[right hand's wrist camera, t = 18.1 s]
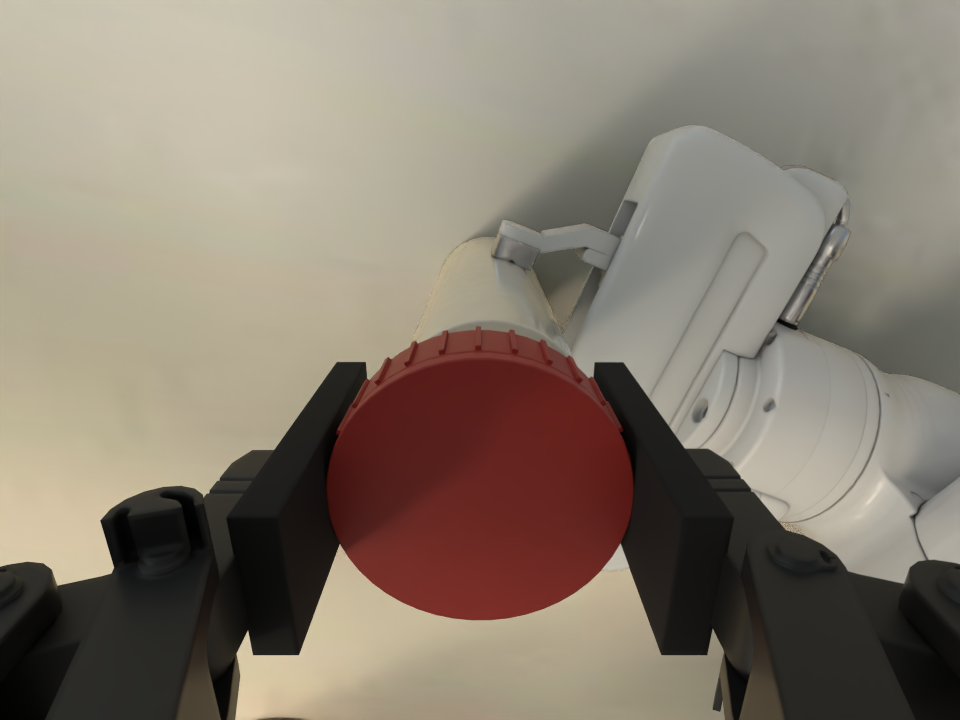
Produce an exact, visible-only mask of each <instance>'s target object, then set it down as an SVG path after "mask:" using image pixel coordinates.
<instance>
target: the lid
mask: <svg viewBox="0 0 960 720" xmlns="http://www.w3.org/2000/svg"><path fill="white" fill-rule="evenodd" d="M620 432H623V429H622V427H621V425H620V423H619V421H618V419H617V417H616V415H615V413H614V412H613V410H612V408H611V406H610V404H609V402H608V401H606V400H605V399H604V397H603V395H602V393H601V391H600V389H599V387H598V385H597V383H596V381H595V379H594V378H593V377H592V376H591V377H590V378H588V377H587V376H586V375H585V374H584V373H583V372H582V371H581V370H580V369H579V368H578V367H577V365H576V363H575V361H574V359H573V357H571V356H570V355H569V356H568V357H567V358H566V357H565V356H564V355H562V354H561V353H559V352H558V351H556V350H554V349H552V348H550V347H549V346H547V343H546V341H545V340H543V339H541V340H540V342H538V341H535V340H533V339H530V338H528V337H524V336H521V335H517V334H515V331H514V330H511V329H510V330H509V332H501V331H493V330H481V326H476V330H467V331H459V332H452V333H448V330H445V331H442V335H440V336H436V337H432V338H430V339H427V340H425V341H422V342H420V343H417V341H416V340H415V341H413V342H412V343H411V345H410V348H408V349H406V350H405V351H403V352H401V353H399V354H398V355H397V356H395V357H394V358H393V359H390V358H389V357H388V358H386V359H385V361H384V363H383V365H382V367H381V369H380V370H379V371H378V372H377V373H376V374H375V375H374V376H373V377H372V379H371V380H368V379H366V380H365V381H364V383H363V385H362V387H361V389H360V390H359V392H358V394H357V396H356V398H355V400H354V402H353V404H351V405H350V407H349V409H348V411H347V413H346V415H345V416H344V418H343V420H342V422H341V424H340V426H339V428H338V430H337V432H336V434H337V435H339V437H338V439H337V441H336V443H335V446H334V448H333V451H332V454H331V457H330V460H329V466H328V471H327V476H326V491H327V500H328V509H329V516H330V519H331V523H332V527H333V529H334V531H335V534H336V536H337V538H338V541H339V543H340V544H341V546H342V548H343V549H344V551H345V553H346V554H347V556H348V557H349V559H350V560H351V561H352V562H353V563H354V565H355V566H356V567H357V568H358V570H359V571H360V572H361V573H362V574H363V575H364V576H366V577H367V578H368V579H369V580H370V581H371V582H372V583H373V584H375V585H376V586H377V587H379V588H380V589H381V590H383V591H384V592H385V593H387V594H389V595H390V596H392V597H394V598H396V599H397V600H399V601H401V602H403V603H405V604H407V605H410V606H412V607H414V608H416V609H419V610H422V611H425V612H429V613H432V614H435V615H439V616H444V617H449V618H455V619H465V620H495V619H505V618H511V617H516V616H521V615H526V614H529V613H532V612H535V611H538V610H541V609H544V608H546V607H549V606H551V605H553V604H555V603H558V602H560V601H562V600H563V599H565V598H567V597H568V596H570V595H572V594H574V593H575V592H577V591H578V590H579V589H581V588H582V587H583V586H585V585H586V584H587V583H589V582H590V581H591V580H592V579H593V578H594V577H595V576H596V575H597V574H598V573H599V572H600V571H601V570H602V569H603V568H604V566H605V565H606V564H607V563H608V562H609V560H610V559H611V558H612V557H613V555H614V553H615V552H616V550H617V548H618V547H619V545H620V543H621V542H622V539H623V537H624V535H625V532H626V530H627V528H628V525H629V521H630V517H631V512H632V504H633V495H634V474H633V469H632V464H631V459H630V454H629V452H628V450H627V448H626V445H625V442H624V440H623V438H622V436H621V434H620Z"/></svg>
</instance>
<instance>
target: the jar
mask: <svg viewBox="0 0 960 720" xmlns="http://www.w3.org/2000/svg"><path fill="white" fill-rule="evenodd" d="M495 239H496V237H479V238H475V239H472V240H469V241H467V242H465V243H463V244H461V245H460V246H458V247H457V248H456V249H455V250H454V251H453V252H452V253H451V254H450V255H449V257H448V258H447V260H446V261H445V263H444V265H443V268H442V270H441V272H440V275H439V277H438V280H437V282H436V284H435V287H434V289H433V292H432V294H431V296H430V299H429V301H428V304H427V306H426V308H425V311H424V313H423V315H422V318H421V320H420V323H419V325H418V327H417V330H416V332H415V335H414V337H413V339H412V342H413V341H415V340H416V341H417V343H420V342H422V341H425V340H427V339H430V338H432V337H436V336H440V335H442V331H445V330H448V333H452V332H459V331H467V330H476V326H481V330H493V331H501V332H509V330H510V329H511V330H514V331H515V334H517V335H521V336H524V337H528V338H530V339H533V340H535V341H538V342H540V340H541V339H543V340H545V341H546V343H547V346H549V347H550V348H552V349H554V350H556V351H558V352H559V353H561V354H562V355H564V356H565V357H566V358H567V357H568V356H569V355H570V356H571V357H573V355H572V353H571V351H570V349H569V347H568V344H567V342H566V340H565V338H564V336H563V333H562V331H561V329H560V327H559V325H558V322H557V320H556V318H555V316H554V314H553V311H552V309H551V307H550V305H549V303H548V300H547V298H546V296H545V294H544V292H543V289H542V287H541V285H540V283H539V281H538V278H537V276H536V274H535V272H534V270H533V267H532V269H531V271H529V270H526V269H524V268H521V267H519V266H517V265H516V264H515V263H514V262H513V260H511V261H505V260H501V259H498V258H496V257H494V256H493V255H491V250H492V247H493V245H494V242H495ZM412 342H411V343H412ZM410 345H411V344H410ZM409 348H410V347H409ZM573 359H574V358H573ZM574 361H575V360H574ZM575 363H576V362H575ZM576 365H577V364H576ZM577 367H578V366H577Z"/></svg>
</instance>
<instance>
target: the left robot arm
mask: <svg viewBox="0 0 960 720" xmlns="http://www.w3.org/2000/svg"><path fill="white" fill-rule="evenodd" d="M849 213H850V203H849V199H848V193H847V191H846V189H845V188H844V187H843V186H842V185H841V184H840V183H838V182H837V181H836V180H835V179H833V178H830V177H828V176H826V175H823V174H821V173H819V172H817V171H814V170H812V169H810V168H808V167H805V166H800V165H788V166H783V167H780V168H779V167H778V166H777V165H775V164H774V163H772V162H770V161H769V160H767V159H766V158H764V157H763V156H761V155H760V154H758V153H756V152H755V151H753V150H751V149H750V148H748V147H746V146H744V145H743V144H741V143H739V142H737V141H735V140H734V139H732V138H730V137H728V136H726V135H724V134H722V133H720V132H718V131H716V130H713V129H711V128H708V127H705V126H699V125H689V126H683V127H679V128H676V129H673V130H671V131H668V132H666V133H663V134H661V135H659V136H657V137H655V138H653V139H652V140H651V141H650V142H649V144H648V146H647V148H646V150H645V152H644V154H643V156H642V159H641V161H640V163H639V165H638V167H637V170H636V172H635V174H634V176H633V178H632V181H631V183H630V185H629V187H628V189H627V192H626V194H625V196H624V198H623V200H622V203H621V205H620V207H619V209H618V211H617V214H616V216H615V218H614V220H613V222H612V225H611V227H610V229H609V231H608V232H606V231H604V230H601V229H599V228H596V227H594V226H591V225H589V224H586V223H584V224H578V225H572V226H566V227H560V228H554V229H548V230H542V231H541V233H539V232H536V231H534V230H531V229H529V228H526V227H524V226H521V225H519V224H516V223H514V222H511V221H507V220H504V219H503V221H502V223H501V226H500V229H499V231H498V234H497V236H496V239H495V242H494V245H493V247H492V250H491V255H493V256H494V257H496V258H498V259H501V260H505V261H511V260H513V262H514V263H515V264H516V265H517V266H519V267H521V268H524V269H526V270H529V271H531V269H532V267H533V264H534V262H535V260H536V258H537V255H538V253H540V254H541V253H547V252H554V251H561V250H568V249H575V250H574V251H575V254H576V255H577V256H578V257H579V258H580V259H581V260H582V261H583V262H586V263H588V264H591V265H593V266H592V268H591V271H590V273H589V275H588V277H587V279H586V282H585V284H584V286H583V288H582V290H581V293H580V295H579V297H578V299H577V301H576V304H575V306H574V308H573V310H572V312H571V315H570V317H569V319H568V321H567V323H566V326H565V328H564V330H563V332H562V333H563V336H564V338H565V340H566V342H567V344H568V347H569V349H570V351H571V353H572V355H573V358H574V360H575V362H576V364H577V366H578V368H579V369H580V370H581V371H582V372H583V373H584V374H585V375H586V376H587V377H588V378H590V377H591V376H592V377H593V376H594V363H595V362H624V364H625V365H626V367H627V368H628V369H629V371H630V372H631V374H632V375H633V376H634V378H635V379H636V381H637V382H638V383H639V385H640V386H641V388H642V389H643V390H644V392H645V393H646V395H647V396H648V397H649V399H650V400H651V402H652V403H653V404H654V406H655V407H656V409H657V410H658V411H659V413H660V414H661V416H662V417H663V418H664V420H665V421H666V423H667V424H668V425H669V427H670V428H671V430H672V431H673V433H674V434H675V435H676V437H677V438H678V440H679V441H680V442H681V444H682V445H683V447H684V448H685V449H710V450H711V451H713V452H714V453H716V454H718V455H719V456H721V457H722V458H724V459H726V460H727V461H729V463H730V464H731V465H732V466H733V467H734V469H735V470H736V471H737V472H738V473H739V475H740V476H741V479H744V481H745V482H746V483H747V484H748V486H749V487H750V488H751V492H754V493H755V494H756V495H757V496H758V498H759V499H760V500H761V501H762V502H763V504H764V505H765V506H766V507H767V508H768V510H769V511H770V512H771V513H772V514H773V516H774V517H775V518H776V519H777V521H778V522H782V523H787V524H791V525H794V526H796V527H797V528H798V529H799V530H800V531H801V532H802V533H803V535H804V536H806V537H809V538H811V539H813V540H815V541H817V542H819V543H821V544H823V545H824V546H825V547H827V548H828V549H829V550H831V551H832V552H833V553H835V554H836V555H837V556H838V557H839V559H840V560H841V561H842V563H843V564H844V565H845V567H846V569H847V571H849V572H853V573H857V574H861V575H865V576H870V577H875V578H879V579H884V580H889V581H894V582H898V583H903V584H904V582H905V579H906V577H907V574H908V571H909V568H910V567H911V566H912V565H914V564H915V563H916V562H918V561H924V560H940V561H946V562H953V563H957V564H960V394H959V393H956V392H954V391H952V390H949V389H947V388H945V387H942V386H940V385H937V384H935V383H932V382H930V381H927V380H924V379H921V378H917V377H914V376H908V375H902V374H887V373H884V372H882V371H880V370H879V369H878V368H877V367H876V366H875V365H873V364H872V363H871V362H870V361H868V360H867V359H865V358H864V357H863V356H861V355H859V354H857V353H855V352H853V351H851V350H849V349H847V348H844V347H841V346H839V345H836V344H834V343H831V342H829V341H826V340H824V339H821V338H819V337H816V336H814V335H811V334H809V333H806V332H804V331H801V330H799V329H798V328H797V325H798V324H799V322H800V320H801V319H802V317H803V316H804V314H805V312H806V311H807V309H808V307H809V306H810V304H811V303H812V301H813V299H814V297H815V296H816V294H817V292H818V288H820V285H821V282H822V281H823V279H824V277H823V276H825V275H826V273H827V270H829V268H830V267H831V265H832V263H833V262H834V261H836V260H837V259H838V258H839V256H840V255H841V253H842V252H843V250H844V248H845V247H846V245H847V242H848V240H849V238H850V234H851V230H849V229H847V228H845V227H846V225H847V222H848V219H849ZM837 215H838V216H837ZM836 217H837V220H836V223H835V224H833V222H834V220H835V219H836ZM625 569H629V565H628V562H627V560H626V557H625V554H624V552H623V549H622V546H621V543H620V545H619V547H618V548H617V550H616V552H615V553H614V555H613V557H612V558H611V559H610V560H609V562H608V563H607V564H606V565H605V566H604V568H603V569H602V570H601V571H620V570H625Z"/></svg>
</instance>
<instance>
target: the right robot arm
mask: <svg viewBox="0 0 960 720" xmlns="http://www.w3.org/2000/svg"><path fill="white" fill-rule="evenodd" d="M593 378H594V379H595V381H596V383H597V385H598V387H599V389H600V391H601V393H602V395H603V397H604V399H605V400H606V401H608V402H609V404H610V406H611V408H612V410H613V412H614V413H615V415H616V417H617V419H618V421H619V423H620V425H621V427H622V429H623V432H620V434H621V436H622V438H623V440H624V442H625V445H626V448H627V450H628V452H629V454H630V459H631V464H632V469H633V474H634V495H633V504H632V512H631V517H630V521H629V525H628V528H627V530H626V532H625V535H624V537H623V539H622V542H621V546H622V549H623V552H624V554H625V557H626V560H627V562H628V565H629V568H630V571H631V573H632V576H633V579H634V582H635V584H636V587H637V590H638V592H639V595H640V598H641V601H642V603H643V606H644V609H645V611H646V614H647V617H648V620H649V622H650V625H651V628H652V631H653V633H654V636H655V639H656V641H657V644H658V647H659V650H660V652H661V655H707V653H708V648H709V643H710V638H711V633H712V628H713V630H714V632H715V634H716V636H717V638H718V640H719V642H720V644H721V646H722V648H723V650H724V655H723V659H722V664H721V669H720V674H719V678H718V683H717V688H716V693H715V697H714V704H713V710H716V711H719V712H720V710H721V705H722V701H723V706H724V714H725V720H960V564H957V563H953V562H946V561H940V560H924V561H918V562H916V563H915V564H914V565H912V566H911V567H910V568H909V571H908V574H907V577H906V579H905V582H904V584H903V583H898V582H894V581H889V580H884V579H879V578H875V577H870V576H865V575H861V574H857V573H853V572H849V571H847V569H846V567H845V565H844V564H843V563H842V561H841V560H840V559H839V557H838V556H837V555H836V554H835V553H833V552H832V551H831V550H829V549H828V548H827V547H825V546H824V545H823V544H821V543H819V542H817V541H815V540H813V539H811V538H809V537H806V536H804V535H801V534H797V533H793V532H790V531H786V530H785V529H784V528H783V527H782V525H781V524H780V523H779V522H778V521H777V519H776V518H775V517H774V516H773V514H772V513H771V512H770V511H769V510H768V508H767V507H766V506H765V505H764V504H763V502H762V501H761V500H760V499H759V498H758V496H757V495H756V494H755V493H754V492H751V488H750V487H749V486H748V484H747V483H746V482H745V481H744V479H741V476H740V475H739V473H738V472H737V471H736V470H735V469H734V467H733V466H732V465H731V464H730V463H729V461H727V460H726V459H724V458H722V457H721V456H719V455H718V454H716V453H714V452H713V451H711V450H710V449H685V448H684V447H683V445H682V444H681V442H680V441H679V440H678V438H677V437H676V435H675V434H674V433H673V431H672V430H671V428H670V427H669V425H668V424H667V423H666V421H665V420H664V418H663V417H662V416H661V414H660V413H659V411H658V410H657V409H656V407H655V406H654V404H653V403H652V402H651V400H650V399H649V397H648V396H647V395H646V393H645V392H644V390H643V389H642V388H641V386H640V385H639V383H638V382H637V381H636V379H635V378H634V376H633V375H632V374H631V372H630V371H629V369H628V368H627V367H626V365H625V364H624V362H595V363H594V376H593ZM366 379H367V372H366V362H337V363H336V364H335V366H334V367H333V368H332V370H331V371H330V373H329V374H328V375H327V377H326V378H325V380H324V381H323V383H322V384H321V385H320V387H319V388H318V390H317V391H316V392H315V394H314V395H313V397H312V398H311V399H310V401H309V402H308V404H307V405H306V406H305V408H304V409H303V411H302V412H301V413H300V415H299V416H298V418H297V419H296V420H295V422H294V423H293V425H292V426H291V427H290V429H289V430H288V432H287V433H286V434H285V436H284V437H283V439H282V440H281V441H280V443H279V444H278V446H277V447H276V448H275V450H252V451H250V452H249V453H247V454H246V455H244V456H243V457H241V458H239V459H238V460H236V461H235V462H233V463H232V464H231V465H230V466H229V468H228V469H227V470H226V471H225V472H224V474H223V475H222V476H221V477H220V481H217V482H216V483H215V485H214V486H213V487H212V488H211V490H210V493H209V494H206V496H205V497H204V498H203V495H202V494H201V493H200V492H198V491H197V490H196V489H194V488H189V487H183V486H173V487H162V488H158V489H154V490H149V491H145V492H142V493H140V494H138V495H135V496H133V497H130V498H128V499H126V500H124V501H123V502H121V503H120V504H118V505H116V506H115V507H113V508H112V509H110V510H109V511H108V513H107V514H106V515H105V516H104V517H103V518H102V519H101V524H102V528H103V531H104V534H105V538H106V541H107V544H108V548H109V551H110V555H111V558H112V561H113V565H114V570H113V572H112V574H109V575H105V576H101V577H97V578H92V579H87V580H83V581H78V582H73V583H68V584H64V585H59V586H57V584H56V581H55V578H54V575H53V572H52V570H51V569H50V568H49V567H47V566H46V565H45V564H43V563H34V562H23V563H17V564H11V565H6V566H2V567H0V720H235V716H236V707H237V698H238V690H239V681H240V671H239V664H238V659H237V655H236V653H237V651H238V649H239V647H240V645H241V643H242V641H243V639H244V637H245V635H246V633H247V631H249V636H250V641H251V647H252V652H253V655H299V653H300V651H301V648H302V645H303V642H304V640H305V637H306V634H307V631H308V629H309V626H310V623H311V621H312V618H313V615H314V612H315V610H316V607H317V604H318V602H319V599H320V596H321V593H322V591H323V588H324V585H325V582H326V580H327V577H328V574H329V572H330V569H331V566H332V563H333V561H334V558H335V555H336V552H337V550H338V547H339V544H340V543H339V541H338V538H337V536H336V534H335V531H334V529H333V527H332V523H331V519H330V516H329V509H328V500H327V491H326V476H327V471H328V466H329V460H330V457H331V454H332V451H333V448H334V446H335V443H336V441H337V439H338V437H339V435H337V434H336V432H337V430H338V428H339V426H340V424H341V422H342V420H343V418H344V416H345V415H346V413H347V411H348V409H349V407H350V405H351V404H353V402H354V400H355V398H356V396H357V394H358V392H359V390H360V389H361V387H362V385H363V383H364V381H365V380H366Z"/></svg>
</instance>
